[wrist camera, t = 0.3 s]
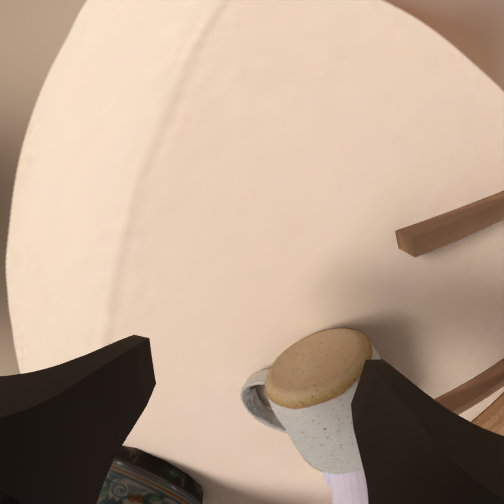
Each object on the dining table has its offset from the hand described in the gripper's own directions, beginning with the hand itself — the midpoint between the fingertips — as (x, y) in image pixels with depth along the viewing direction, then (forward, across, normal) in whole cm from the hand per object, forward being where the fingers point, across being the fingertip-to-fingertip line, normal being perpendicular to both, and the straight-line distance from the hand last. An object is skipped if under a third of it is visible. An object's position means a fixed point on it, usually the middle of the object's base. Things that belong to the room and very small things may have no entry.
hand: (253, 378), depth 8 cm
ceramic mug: (+10, -4, +8) cm, 13 cm away
